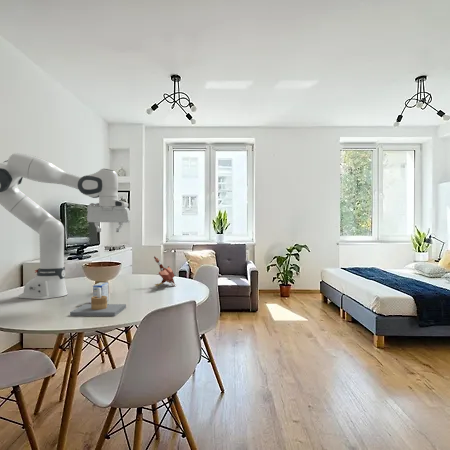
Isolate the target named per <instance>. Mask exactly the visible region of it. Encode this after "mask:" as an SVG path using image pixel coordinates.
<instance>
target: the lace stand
mask: <svg viewBox="0 0 450 450" xmlns="http://www.w3.org/2000/svg"><path fill="white" fill-rule="evenodd" d="M97 298H101V288H97ZM126 308H127V304H126V303H123V304H121V303H119V304H118V303H107V308H106V309H101V310H93V309H91V303H84V304H83V305H81V306H78V307H77V308H75V309H73V310H71V311H69V317H116V316H117V315H118V314H119V313H122V311H124V310H125V309H126Z"/></svg>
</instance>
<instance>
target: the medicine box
mask: <svg viewBox="0 0 450 450" xmlns="http://www.w3.org/2000/svg"><path fill="white" fill-rule="evenodd" d="M97 288H101V296H107V302H108V301H109V282H98V283H96V284H94V285H92V297H94V296H97Z"/></svg>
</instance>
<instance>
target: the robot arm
mask: <svg viewBox="0 0 450 450" xmlns="http://www.w3.org/2000/svg"><path fill="white" fill-rule="evenodd" d="M23 178H24V179H27V180H31V181H33V182H38V183H45V184H56V185H62V186H66V187H70V188H72V189H76V190H78V191H79V192H80V193H81V194H82V195H84V196H87V197H90V198H91V199H98V202H95V203H94V202H91V203H89V204H87V215H86V220H87V222H88V223H94V226H95V228H96V232H97V233H101V232H102V227H100V226H99V225H100V223H118V228H117V227H116V228H115V229H116V231H115V232H116V233H120V232H122V231H121V229H122V227H123V225H124V223H130V221H131V211H130V208H129V203H128V202H126V201H123V200H121V199H119V193H118V191H119V176H118V173H117V172H116V171H114V170H112V169H109V168H100V170H97V171H96V172H94V173H90V174H87V175H84V176H79V175H76V174H73V173H70V172H67V171H65V170H63V169H62V168H60V167H59V166H57V165H55V164H53V163H52V162H50V161H49V160H46V159H44V158H41V157H38V156H35V155H31V154H27V153H20V152H14V153H12V154H11V155H10V156H9V157H8V159H7V160H5V161H3V162H1V163H0V205H1V206H2V207H3V208H4V209H6V211H8V212H9V213H10V214H12V215H13V216H14V217H16V218H17V219H18V220H19V221H21V222H22V223H23V224H25V225H26V226H28V227H29V228H31V229H32V230H33V231H35V232H36V233H37V234H39V236H38V237H39V268H37V269H36V270H34V273H36V275H35V276H34V277H33V278H32V279H30V280H29V281H28V282H26V283H25V285H24V287H23V292H22V293H20V294H19V295H18V297H17V298H18V299H35V300H47V299H53V298H60V297H64V296H66V295H68V294H69V293H68V290H67V286H66V266H65V226H64V224H63V223H62V222H61V221H60V219H56V218H55V217H54V216H53V215H52V214H51V213H49V212H48V211H46V209H44V208H43V207H42V206H41V205H39V204H38V203H37V202H35V201H34V200H33V199H32V198H30V197H29V196H28V195H27V194H26V193H24V192H22V191H21V190H20V188H19V186H18V185H21V184H22V182H23Z"/></svg>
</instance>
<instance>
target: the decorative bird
mask: <svg viewBox="0 0 450 450" xmlns="http://www.w3.org/2000/svg"><path fill="white" fill-rule="evenodd" d="M153 258H154V261H155V262H156V263H157V265H158V266H159V270H160V271H158V275H159V277H161V279H162V280H161V282H159V283H156V284H154V286H156V287H158V286H160V285H164V284H165V283H166V282H167V283H169V284H170V285H171V286H173V287H176V286H175V285H176V284H175V281H174V277H175V276H176V275H175V273H174V271H173V270H172V268H171V267H170V265H169V266H167V268H166V267H164V265H163V264H162V262H161V261H160V259H159V258H157V257H156V256H155V255H154V257H153Z"/></svg>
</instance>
